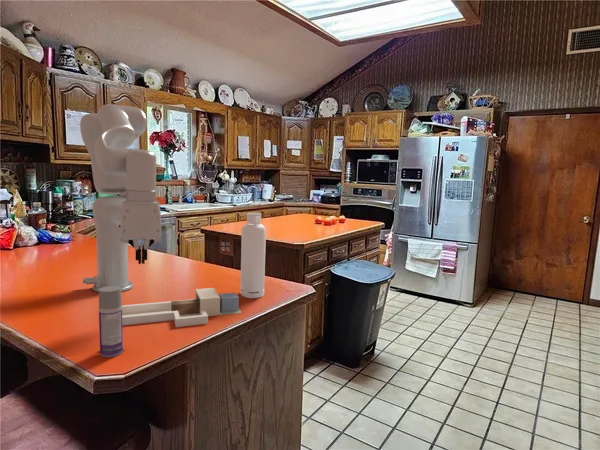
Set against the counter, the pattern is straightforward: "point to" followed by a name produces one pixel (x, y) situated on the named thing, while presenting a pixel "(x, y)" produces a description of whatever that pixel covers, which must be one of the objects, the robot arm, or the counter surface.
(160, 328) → the counter surface
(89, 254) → the counter surface
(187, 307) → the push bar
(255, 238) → the bottle
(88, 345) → the counter surface
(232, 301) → the block
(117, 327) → the container
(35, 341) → the counter surface
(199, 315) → the lane
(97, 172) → the robot arm
